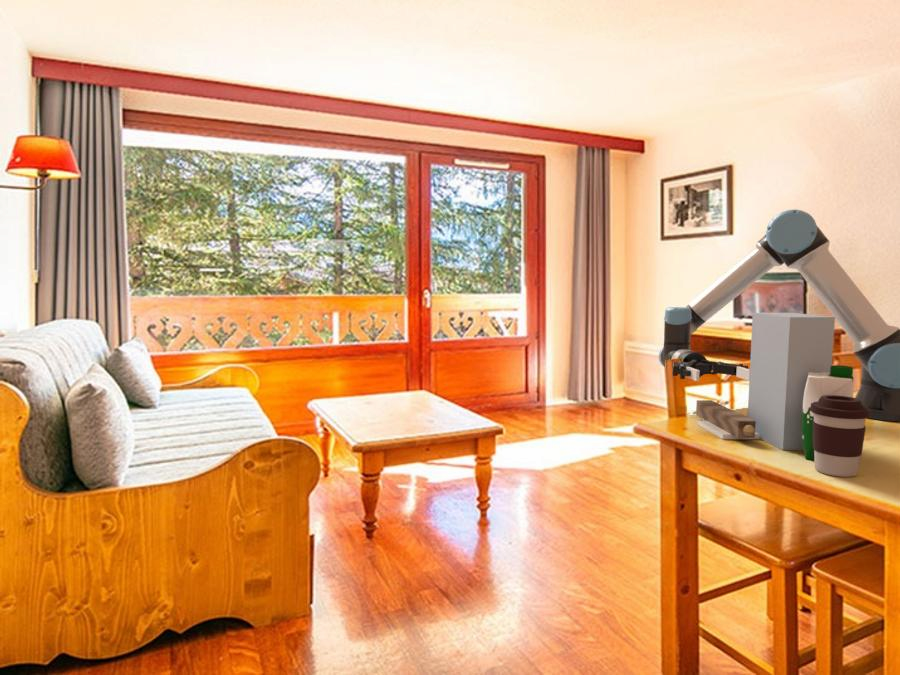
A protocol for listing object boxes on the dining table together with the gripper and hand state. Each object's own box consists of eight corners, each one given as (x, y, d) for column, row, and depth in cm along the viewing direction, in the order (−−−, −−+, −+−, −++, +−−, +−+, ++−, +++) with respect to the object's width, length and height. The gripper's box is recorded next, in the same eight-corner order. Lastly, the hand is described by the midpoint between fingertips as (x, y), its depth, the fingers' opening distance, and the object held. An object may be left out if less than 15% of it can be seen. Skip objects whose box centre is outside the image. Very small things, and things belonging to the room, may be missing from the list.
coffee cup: (808, 475, 120) (812, 400, 119) (805, 461, 129) (809, 391, 127) (868, 483, 115) (874, 405, 114) (862, 468, 124) (867, 396, 123)
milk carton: (850, 466, 126) (856, 370, 124) (799, 459, 130) (805, 367, 128) (847, 455, 133) (853, 364, 131) (799, 449, 138) (805, 361, 136)
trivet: (759, 439, 147) (759, 434, 147) (722, 439, 146) (722, 434, 146) (731, 424, 161) (731, 420, 160) (697, 425, 160) (697, 420, 160)
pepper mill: (759, 440, 141) (760, 423, 141) (742, 440, 141) (743, 423, 141) (710, 414, 167) (711, 400, 167) (696, 414, 167) (696, 400, 167)
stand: (826, 449, 138) (834, 317, 135) (782, 450, 137) (790, 317, 134) (786, 431, 153) (792, 312, 150) (746, 432, 153) (752, 312, 150)
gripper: (731, 376, 176) (772, 390, 154) (646, 376, 175) (674, 390, 154) (732, 350, 175) (773, 360, 154) (647, 350, 174) (676, 361, 153)
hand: (724, 375), depth 154 cm, fingers open, 13 cm apart
